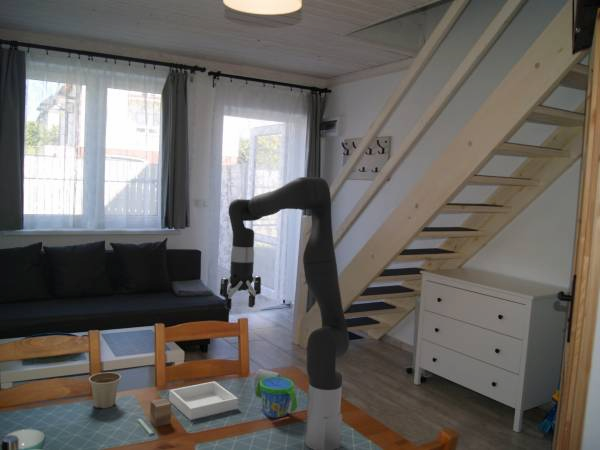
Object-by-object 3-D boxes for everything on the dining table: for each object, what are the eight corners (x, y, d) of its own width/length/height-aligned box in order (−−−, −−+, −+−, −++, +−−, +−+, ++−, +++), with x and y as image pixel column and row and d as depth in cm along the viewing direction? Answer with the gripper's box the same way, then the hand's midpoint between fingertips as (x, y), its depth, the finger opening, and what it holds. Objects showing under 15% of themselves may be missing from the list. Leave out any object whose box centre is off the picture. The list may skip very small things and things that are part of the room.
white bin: (237, 410, 162) (237, 398, 162) (190, 421, 153) (190, 408, 153) (213, 392, 175) (214, 381, 175) (169, 402, 166) (169, 390, 165)
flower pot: (81, 405, 159) (82, 378, 159) (105, 395, 168) (106, 370, 167) (102, 413, 155) (103, 385, 154) (126, 402, 163) (127, 376, 163)
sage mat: (183, 426, 149) (183, 425, 149) (149, 435, 144) (149, 433, 143) (169, 413, 157) (169, 412, 157) (137, 421, 152) (137, 419, 151)
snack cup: (304, 418, 159) (306, 386, 159) (278, 428, 152) (280, 394, 151) (271, 401, 171) (273, 371, 170) (246, 409, 163) (248, 378, 163)
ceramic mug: (276, 398, 174) (277, 375, 173) (252, 394, 175) (254, 372, 175) (283, 387, 184) (284, 366, 184) (261, 384, 186) (262, 363, 185)
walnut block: (170, 423, 150) (171, 403, 150) (155, 427, 147) (156, 406, 147) (164, 417, 154) (165, 398, 153) (149, 420, 151) (150, 401, 150)
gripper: (228, 262, 163) (226, 312, 164) (266, 260, 171) (264, 308, 172) (217, 258, 169) (215, 307, 170) (254, 257, 177) (252, 303, 178)
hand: (239, 308), depth 171 cm, fingers open, 8 cm apart
